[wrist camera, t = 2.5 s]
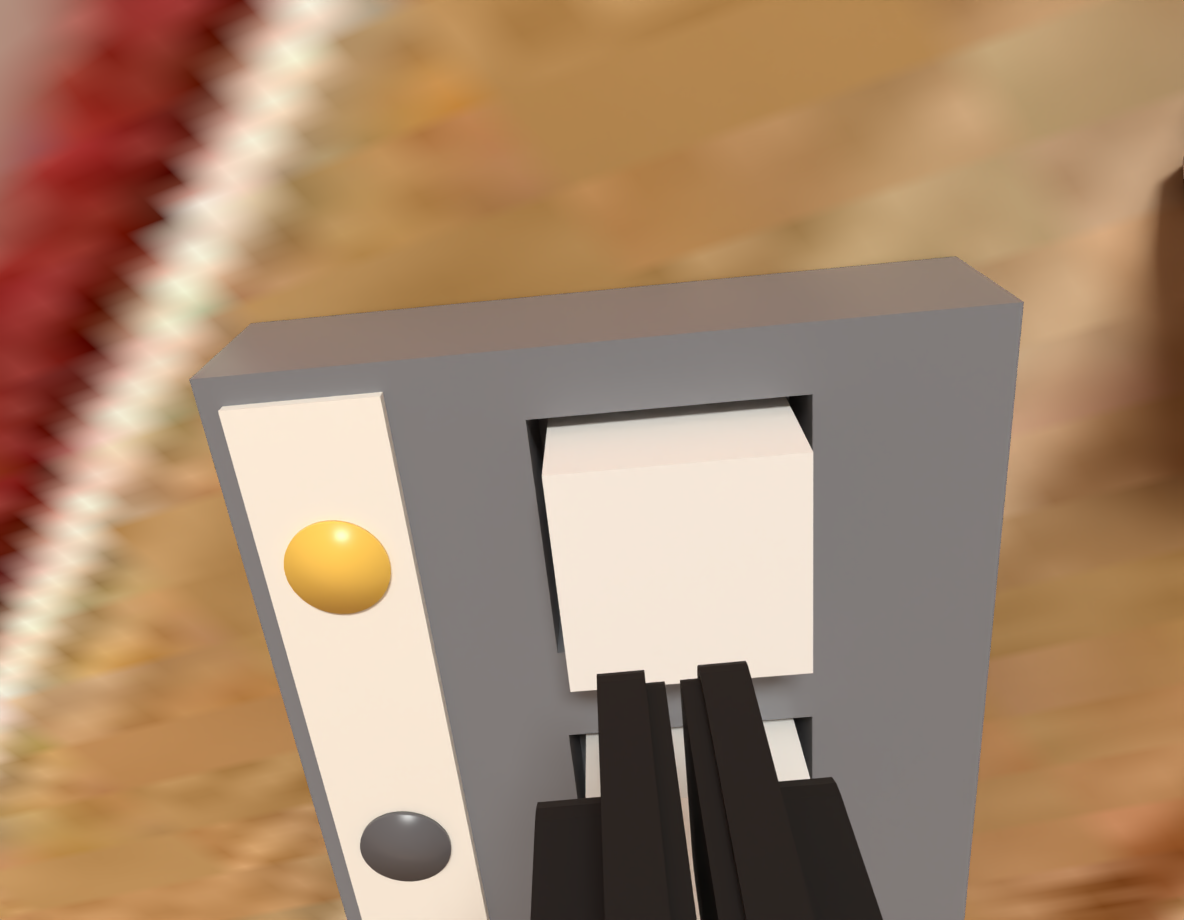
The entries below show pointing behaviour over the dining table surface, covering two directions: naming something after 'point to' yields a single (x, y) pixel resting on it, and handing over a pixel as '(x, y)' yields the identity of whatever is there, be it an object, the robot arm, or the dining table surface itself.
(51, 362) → the dining table surface
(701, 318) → the switch panel
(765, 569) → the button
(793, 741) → the middle button
